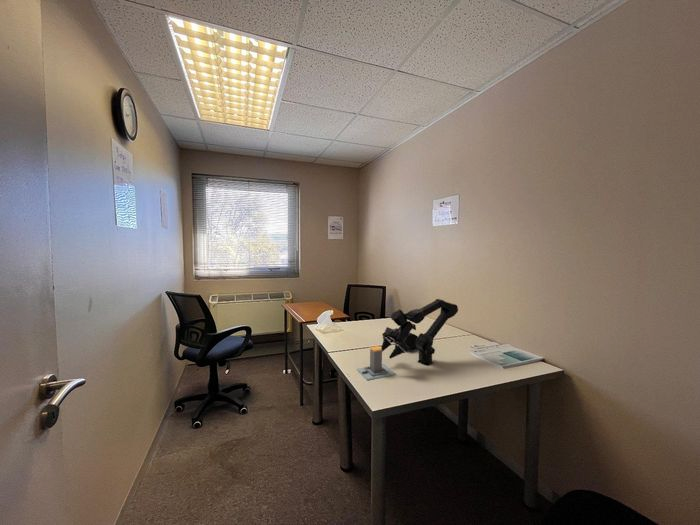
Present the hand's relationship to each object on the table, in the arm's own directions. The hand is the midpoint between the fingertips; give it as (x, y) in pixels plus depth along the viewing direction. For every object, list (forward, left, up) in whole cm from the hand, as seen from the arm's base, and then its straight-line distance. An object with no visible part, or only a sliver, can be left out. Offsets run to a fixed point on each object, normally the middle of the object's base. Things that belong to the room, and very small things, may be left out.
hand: (385, 354), depth 142 cm
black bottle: (+22, -38, -9) cm, 45 cm away
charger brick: (+2, +5, -8) cm, 9 cm away
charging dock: (+2, +5, -8) cm, 10 cm away
